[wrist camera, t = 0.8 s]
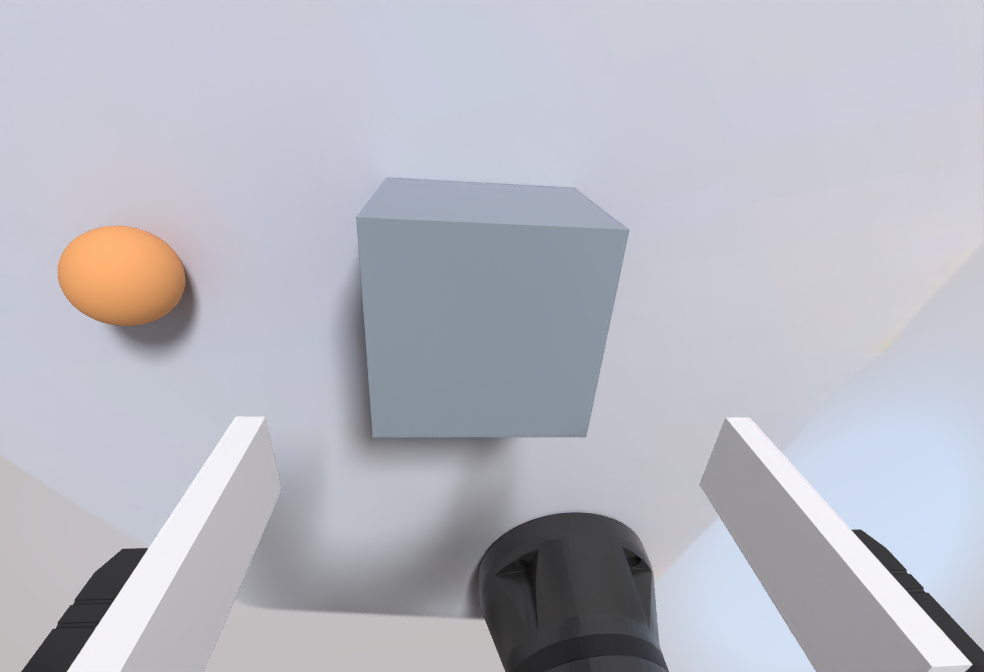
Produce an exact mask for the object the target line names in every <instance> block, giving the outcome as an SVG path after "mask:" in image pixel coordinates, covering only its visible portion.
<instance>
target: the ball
mask: <svg viewBox="0 0 984 672" xmlns="http://www.w3.org/2000/svg"><path fill="white" fill-rule="evenodd" d="M58 280H59V284H60V287H61V289H62V291H63V293H64V295H65V296H66V298H67V299H68V300H69V302H70V303H71V304H72V305H73V306H74V307H75V308H77V309H78V310H79V311H81V312H82V313H83V314H85V315H87V316H89V317H91V318H93V319H95V320H97V321H100V322H103V323H107V324H112V325H118V326H135V325H142V324H146V323H150V322H153V321H155V320H157V319H160V318H161V317H163V316H165V315H166V314H168V313H169V312H170V311H171V310H172V309H173V308H174V307H175V306H176V305H177V304H178V302H179V301H180V299H181V297H182V295H183V292H184V288H185V271H184V268H183V265H182V263H181V261H180V259H179V257H178V256H177V254H176V253H175V252H174V250H173V249H172V248H171V247H170V246H169V245H168V244H166V243H165V242H164V241H163V240H161V239H160V238H158V237H157V236H155V235H153V234H151V233H148V232H146V231H143V230H140V229H137V228H132V227H125V226H107V227H101V228H97V229H93V230H90V231H88V232H86V233H84V234H82V235H80V236H78V237H77V238H76V239H74V240H73V241H72V242H71V243H70V244H69V245H68V246H67V247H66V249H65V250H64V252H63V253H62V255H61V258H60V260H59V264H58Z"/></svg>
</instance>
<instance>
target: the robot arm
mask: <svg viewBox="0 0 984 672" xmlns="http://www.w3.org/2000/svg"><path fill="white" fill-rule="evenodd" d="M700 486H701V488H702V489H703V491H704V492H705V494H706V496H707V497H708V499H709V500H710V502H711V504H712V505H713V507H714V509H715V510H716V512H717V513H718V515H719V517H720V518H721V520H722V521H723V523H724V525H725V526H726V528H727V529H728V531H729V533H730V534H731V536H732V537H733V539H734V541H735V542H736V544H737V545H738V547H739V549H740V550H741V552H742V553H743V555H744V556H745V558H746V560H747V561H748V563H749V565H750V566H751V568H752V569H753V571H754V573H755V574H756V576H757V577H758V579H759V580H760V582H761V584H762V585H763V587H764V589H765V590H766V592H767V594H768V595H769V597H770V598H771V600H772V602H773V603H774V605H775V606H776V608H777V609H778V611H779V613H780V614H781V616H782V618H783V619H784V621H785V622H786V624H787V625H788V627H789V629H790V630H791V632H792V634H793V635H794V637H795V638H796V640H797V642H798V643H799V645H800V646H801V648H802V649H803V651H804V653H805V654H806V656H807V658H808V659H809V661H810V662H811V664H812V666H813V667H814V669H815V670H816V672H984V652H983V650H982V649H981V648H980V647H979V646H978V645H977V644H976V643H975V642H974V641H973V640H972V639H971V638H970V637H969V635H967V633H966V632H964V630H963V629H962V628H961V627H960V626H959V625H958V624H957V623H956V622H955V621H954V620H953V619H952V618H951V616H950V615H949V614H948V613H947V612H946V611H945V610H944V609H943V608H942V607H941V606H940V605H939V604H938V603H937V602H936V601H935V599H934V598H933V597H932V596H931V595H930V594H929V593H926V592H924V590H923V589H924V588H923V587H922V586H921V585H920V584H919V582H917V580H916V579H915V578H914V577H913V576H912V575H911V574H908V573H907V572H906V569H905V568H904V567H903V565H902V564H900V562H899V561H898V560H897V559H896V558H895V557H894V556H893V555H892V554H891V553H890V552H889V551H888V550H887V549H886V548H885V547H884V546H882V545H881V544H880V543H878V542H877V541H876V540H874V539H873V538H872V537H870V536H869V535H867V534H866V533H865V532H863V531H862V530H851V529H850V528H849V527H848V526H847V525H846V524H845V523H844V522H843V520H841V518H840V517H839V516H838V515H837V514H836V513H835V512H834V511H833V509H832V508H831V507H830V506H829V505H828V504H827V503H826V502H825V501H824V499H823V498H822V497H821V496H820V495H819V494H818V493H817V492H816V491H815V489H814V488H813V487H812V486H811V485H810V484H809V483H808V482H807V481H806V480H805V478H804V477H803V476H802V475H801V474H800V473H799V472H798V471H797V469H796V468H795V467H794V466H793V465H792V464H791V463H790V462H789V461H788V460H787V458H786V457H785V456H784V455H783V454H782V453H781V452H780V451H779V450H778V448H777V447H776V446H775V445H774V444H773V443H772V442H771V441H770V440H769V438H768V437H767V436H766V435H765V434H764V433H763V432H762V431H761V430H760V428H759V427H758V426H757V425H756V424H755V423H754V422H753V421H752V420H751V419H750V418H725V420H724V423H723V425H722V428H721V431H720V433H719V436H718V438H717V441H716V443H715V446H714V448H713V451H712V454H711V456H710V459H709V461H708V464H707V466H706V469H705V472H704V474H703V477H702V479H701V482H700ZM280 492H281V485H280V481H279V476H278V471H277V467H276V462H275V458H274V453H273V449H272V444H271V440H270V435H269V431H268V426H267V421H266V417H235V418H234V420H233V421H232V423H231V424H230V426H229V427H228V429H227V430H226V432H225V433H224V435H223V437H222V438H221V440H220V441H219V443H218V444H217V446H216V447H215V449H214V450H213V452H212V453H211V455H210V456H209V458H208V459H207V461H206V462H205V464H204V465H203V467H202V468H201V470H200V471H199V473H198V474H197V476H196V477H195V479H194V480H193V482H192V483H191V485H190V486H189V488H188V489H187V491H186V492H185V494H184V496H183V497H182V499H181V500H180V502H179V503H178V505H177V506H176V508H175V509H174V511H173V512H172V514H171V515H170V517H169V518H168V520H167V521H166V523H165V524H164V526H163V527H162V529H161V530H160V532H159V533H158V535H157V536H156V538H155V539H154V541H153V542H152V544H151V545H150V547H149V548H141V549H140V548H139V549H122V550H121V551H120V552H118V553H117V554H116V555H115V556H114V557H112V558H111V559H110V560H109V561H108V562H107V563H105V564H104V565H103V566H102V567H101V568H99V569H98V570H97V571H96V572H95V573H94V574H93V575H92V577H91V578H90V580H89V581H88V582H87V584H86V585H85V586H84V588H83V589H82V591H81V592H80V593H79V594H78V596H77V597H76V599H75V602H74V604H73V605H70V607H69V608H68V609H67V611H66V612H65V613H64V615H63V616H62V617H61V619H60V620H59V621H58V625H57V627H56V629H53V630H52V631H51V632H50V634H49V635H48V636H47V638H46V639H45V640H44V642H43V643H42V645H41V646H40V647H39V649H38V650H37V651H36V653H35V654H34V655H33V657H32V658H31V659H30V661H29V662H28V664H27V665H26V666H25V668H24V669H23V670H22V672H204V671H205V669H206V666H207V664H208V662H209V659H210V657H211V654H212V652H213V650H214V647H215V645H216V643H217V640H218V638H219V636H220V633H221V631H222V629H223V626H224V624H225V622H226V619H227V617H228V614H229V612H230V610H231V607H232V605H233V603H234V600H235V598H236V596H237V593H238V591H239V589H240V586H241V584H242V582H243V579H244V577H245V575H246V572H247V570H248V568H249V565H250V563H251V561H252V558H253V556H254V554H255V551H256V549H257V546H258V544H259V542H260V539H261V537H262V535H263V532H264V530H265V528H266V525H267V523H268V521H269V518H270V516H271V514H272V511H273V509H274V507H275V504H276V502H277V500H278V497H279V495H280ZM478 584H479V600H480V606H481V610H482V613H483V616H484V618H485V621H486V623H487V626H488V628H489V631H490V634H491V636H492V639H493V641H494V644H495V646H496V649H497V651H498V654H499V657H500V659H501V662H502V664H503V667H504V669H505V672H669V671H668V668H667V666H666V663H665V660H664V658H663V655H662V652H661V649H660V645H659V639H658V626H657V613H656V600H655V588H654V576H653V571H652V567H651V564H650V561H649V559H648V557H647V554H646V552H645V549H644V547H643V545H642V542H641V541H640V539H639V537H638V536H637V535H636V534H635V533H634V531H632V530H631V529H630V528H629V527H627V526H626V525H624V524H623V523H621V522H619V521H617V520H614V519H612V518H609V517H606V516H602V515H597V514H589V513H564V514H556V515H551V516H546V517H542V518H539V519H536V520H533V521H530V522H528V523H525V524H523V525H521V526H519V527H517V528H515V529H513V530H511V531H510V532H508V533H507V534H505V535H504V536H503V537H501V538H500V539H499V540H498V541H497V542H496V543H495V544H494V545H493V546H492V547H491V548H490V549H489V550H488V552H487V553H486V554H485V556H484V558H483V560H482V562H481V564H480V568H479V573H478Z"/></svg>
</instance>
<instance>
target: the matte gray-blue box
mask: <svg viewBox="0 0 984 672" xmlns="http://www.w3.org/2000/svg"><path fill="white" fill-rule="evenodd" d="M356 219H357V233H358V246H359V260H360V274H361V287H362V301H363V314H364V328H365V341H366V355H367V368H368V382H369V395H370V409H371V422H372V436H373V438H374V437H586V435H587V431H588V426H589V421H590V416H591V411H592V407H593V402H594V397H595V392H596V387H597V383H598V378H599V373H600V368H601V363H602V359H603V354H604V349H605V344H606V339H607V335H608V330H609V325H610V320H611V315H612V311H613V306H614V301H615V296H616V291H617V287H618V282H619V277H620V272H621V267H622V263H623V258H624V253H625V248H626V243H627V239H628V234H629V229H628V228H626V227H625V226H624V225H622V224H621V223H620V222H619V221H617V220H616V219H615V218H613V217H612V216H611V215H609V214H608V213H607V212H605V211H604V210H603V209H601V208H600V207H599V206H597V205H596V204H595V203H594V202H592V201H591V200H590V199H588V198H587V197H586V196H584V195H583V194H582V193H580V192H579V191H578V190H576V189H575V188H566V187H548V186H529V185H511V184H493V183H475V182H456V181H438V180H420V179H402V178H386V180H385V181H384V182H383V183H382V185H381V186H380V187H379V189H378V190H377V191H376V192H375V194H374V195H373V196H372V198H371V199H370V200H369V202H368V203H367V204H366V205H365V207H364V208H363V209H362V211H361V212H360V213H359V214H358V216H357V217H356Z"/></svg>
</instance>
